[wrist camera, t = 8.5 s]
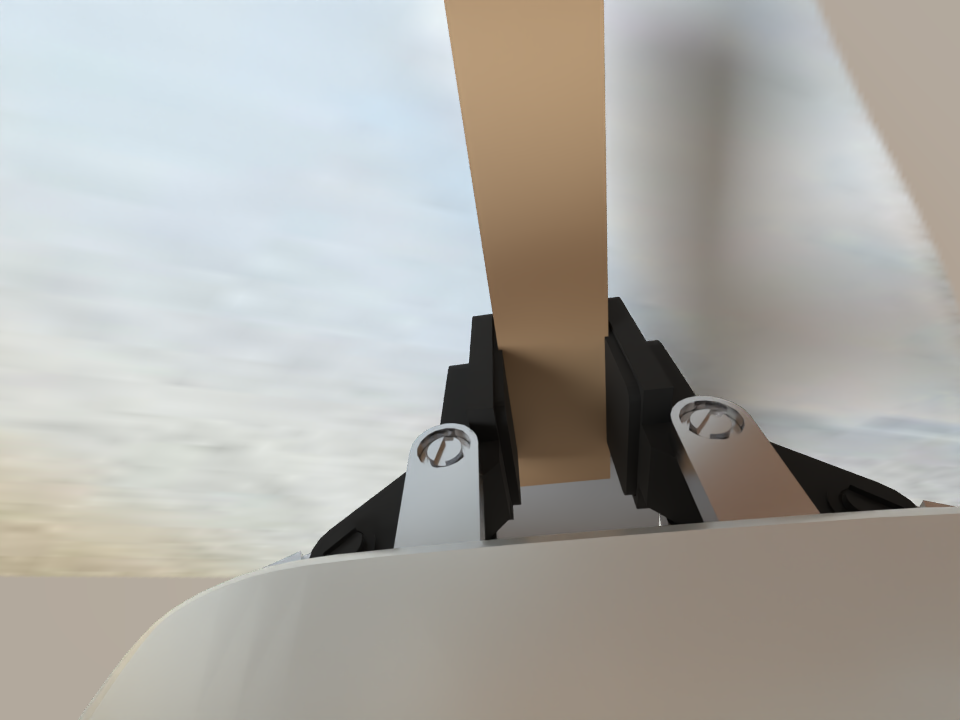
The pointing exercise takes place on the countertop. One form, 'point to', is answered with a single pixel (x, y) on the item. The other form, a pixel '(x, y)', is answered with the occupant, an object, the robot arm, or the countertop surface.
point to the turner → (545, 245)
